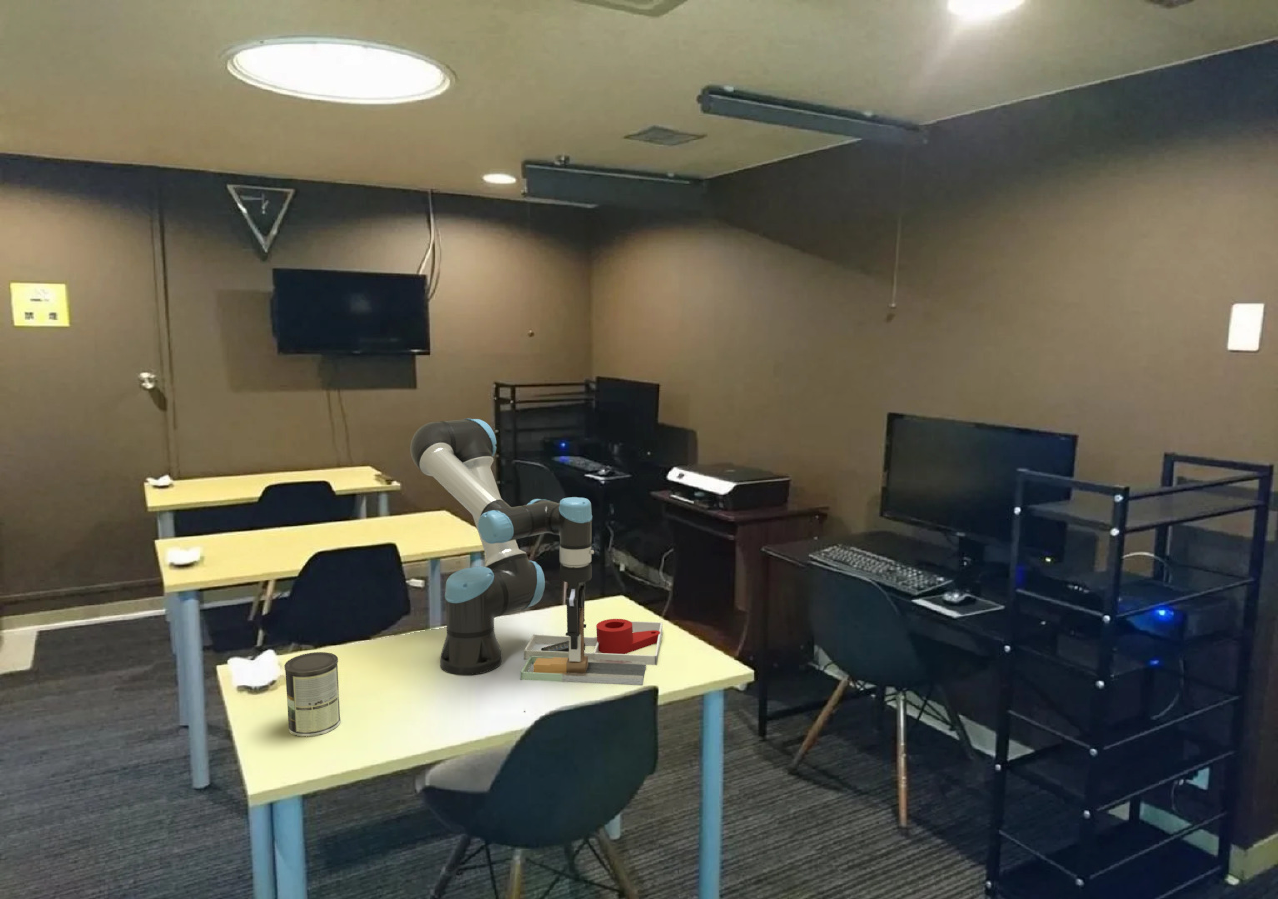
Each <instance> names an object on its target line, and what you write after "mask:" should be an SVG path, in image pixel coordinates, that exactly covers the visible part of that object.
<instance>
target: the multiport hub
mask: <svg viewBox="0 0 1278 899" xmlns="http://www.w3.org/2000/svg"><path fill="white" fill-rule="evenodd" d="M540 651H561V652H569V641H566V642H562V643H558V644H550V645H548V646H544V647H541V648H540ZM584 651H586V646H585V643H584Z"/></svg>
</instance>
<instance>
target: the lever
mask: <svg viewBox="0 0 1278 899" xmlns="http://www.w3.org/2000/svg"><path fill="white" fill-rule="evenodd" d="M630 621H631V620H628V619H624V618H611V619H610V618H609V619H603V620H601V621H599V622H598V623H597V624H596V626H595V627H596V628H595V629H596V637H597V642H598V643H599V652H598V653H609V654H630V653H633V652H635V651H638V650H641V649H643V648H644V649H645V648H647V647H650V646H652V645H655V644H657V641H658V635H659V634H660V631H657V630H651V631H642V632H633V627H632V622H630Z"/></svg>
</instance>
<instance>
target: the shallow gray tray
mask: <svg viewBox="0 0 1278 899" xmlns="http://www.w3.org/2000/svg"><path fill="white" fill-rule="evenodd" d="M646 669H647V665H646V662H639V661H616V660H592V659H588V667H587V670H586V673H569V672H563V675H562V682H563V683H565V682H566V683H582V684H583V683H585V684H587V683H588V684H606V685H609V684H610V685H611V684H612V685H630V686H631V685H634V686H643V683H644V680H645V675H646Z"/></svg>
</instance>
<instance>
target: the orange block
mask: <svg viewBox="0 0 1278 899" xmlns="http://www.w3.org/2000/svg"><path fill="white" fill-rule="evenodd" d="M567 660H568V658H560V657H553V659H552V661H551V663H550V673H559V674H563V672H567V671H566V663H567Z"/></svg>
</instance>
